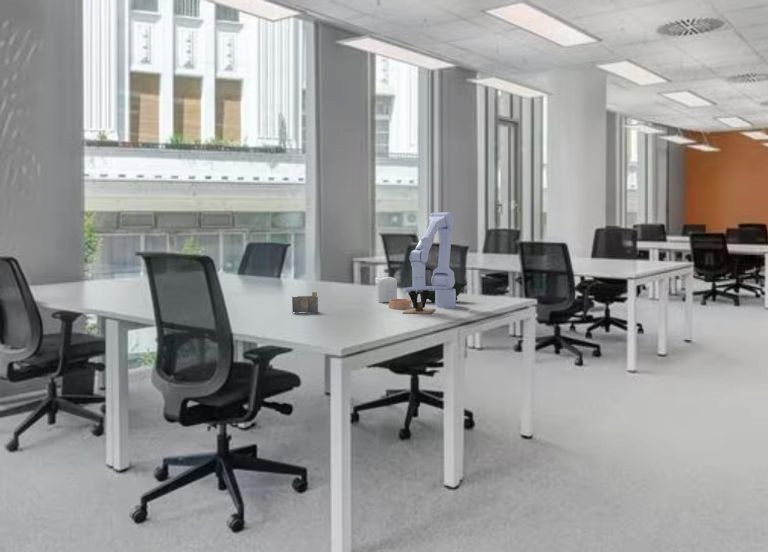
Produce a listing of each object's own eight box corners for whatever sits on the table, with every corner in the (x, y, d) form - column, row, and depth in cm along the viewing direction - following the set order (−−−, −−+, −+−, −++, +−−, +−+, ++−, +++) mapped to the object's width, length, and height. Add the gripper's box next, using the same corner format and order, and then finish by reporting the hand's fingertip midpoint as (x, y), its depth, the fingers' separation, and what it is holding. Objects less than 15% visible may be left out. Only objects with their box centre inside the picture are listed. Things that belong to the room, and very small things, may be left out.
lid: (434, 310, 307) (434, 300, 306) (430, 314, 295) (430, 304, 295) (408, 309, 309) (408, 300, 309) (403, 313, 298) (402, 303, 297)
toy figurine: (418, 306, 335) (469, 301, 335) (414, 268, 333) (465, 262, 333) (417, 304, 344) (466, 299, 344) (413, 266, 342) (463, 261, 342)
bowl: (412, 307, 320) (412, 299, 320) (408, 310, 311) (408, 301, 310) (391, 307, 322) (391, 298, 322) (387, 310, 313) (387, 301, 312)
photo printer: (393, 300, 346) (393, 276, 345) (398, 301, 342) (398, 276, 341) (376, 302, 340) (376, 277, 339) (381, 303, 337) (380, 278, 335)
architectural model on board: (318, 312, 311) (317, 291, 310) (318, 313, 308) (317, 292, 307) (292, 313, 310) (292, 291, 309) (292, 314, 307) (292, 292, 306)
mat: (435, 311, 307) (435, 310, 307) (431, 315, 295) (431, 314, 295) (407, 310, 310) (407, 309, 310) (401, 315, 298) (401, 313, 297)
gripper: (429, 275, 307) (429, 305, 309) (399, 277, 302) (400, 307, 303) (436, 276, 301) (436, 307, 302) (407, 278, 295) (407, 310, 296)
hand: (419, 308), depth 302 cm, fingers closed on lid, 3 cm apart
